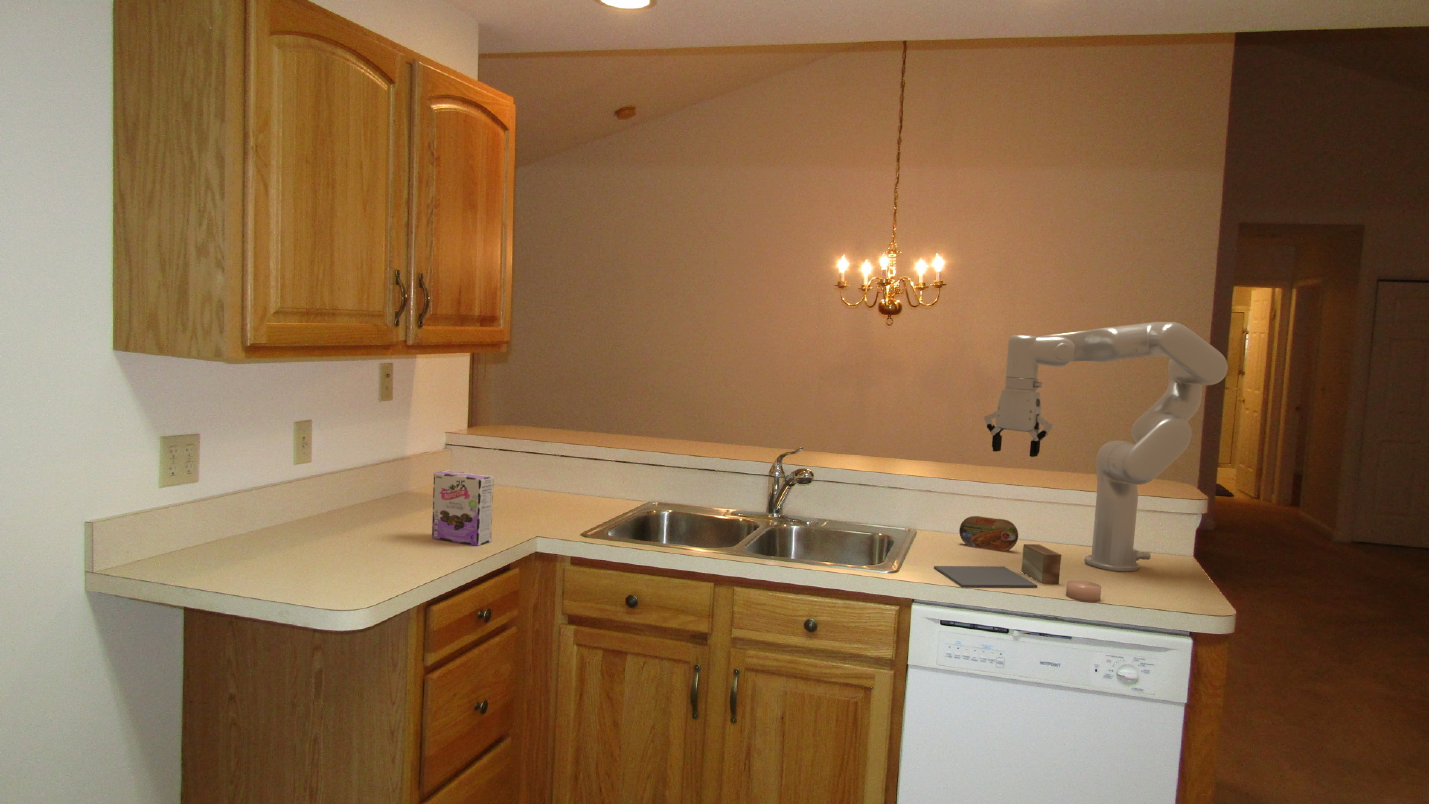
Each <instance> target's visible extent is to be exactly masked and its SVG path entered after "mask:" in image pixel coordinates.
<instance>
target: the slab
mask: <svg viewBox="0 0 1429 804" xmlns="http://www.w3.org/2000/svg"><path fill="white" fill-rule="evenodd" d="M1022 548H1023V549H1022V562H1021V572H1023V573H1024V575H1025V574H1027V575H1028V576H1027V575H1026V576H1027V577H1028V578H1030V577H1032V578H1033V579H1032V578H1031V579H1032V580H1034V581H1036V580H1037V581H1036V582H1037V583H1039V584H1041V583H1042V584H1041V585H1059V584H1060V576H1061V574H1060V573H1061V562H1062V554H1060V553H1058V552H1056V551H1054V550H1052V549H1050V548H1048V547H1046V546H1044V545H1041V544H1039V543H1038V544H1036V543H1035V544H1032V543H1029V544H1028V543H1024V544H1023V547H1022ZM1023 573H1022V574H1023Z"/></svg>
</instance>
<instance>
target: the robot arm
mask: <svg viewBox="0 0 1429 804" xmlns="http://www.w3.org/2000/svg"><path fill="white" fill-rule="evenodd" d="M1006 355H1007V356H1006V365H1005V366H1006V368H1005V378H1004V389H1003V388H1002V389H1001V391H1000V395H999V399H998V402H997V403H998V404H997V409H996V411H994V412H992V413H991V414H990V413H989V414H988V415H985V416H984V418H983V419H984V420H983V421H984V422H985V424H986V428H987V429H988V431H989V433H990V435H991V436H992V441H991V448H992V452H1001V451H1002V442H1003V440H1002V439H1003V435H1001V433H1003V431H1004V430H1008V431H1014V432H1016V431H1017V432H1024V433H1029V435H1030V437H1031V438H1032V439H1031V440H1030V447H1029V457H1031V458H1035V457H1038V455H1039V453H1040V450H1041V448H1040V447H1041V441H1043V439H1044V438H1045V437H1046V436H1048V435H1049V432H1050V431H1051V429H1052V428H1053V426H1054V425H1053V423H1051V422H1050V421H1048V419H1045V418H1044V417H1042V401H1041V400H1042V399H1041V393H1040V391H1037V390H1038V389H1039V388H1042V387H1043V382H1041V381H1039V379H1038V377H1039V376H1038V375H1039V366H1047V367H1054V368H1059V367H1065V366H1068V365H1069V364H1071V363H1072V362H1096V363H1097V362H1099V363H1106V362H1107V363H1108V362H1110V363H1111V362H1118V361H1119V362H1120V361H1126V360H1136V359H1143V358H1144V359H1145V358H1150V357H1151V358H1152V357H1165V358H1167V357H1168V358H1170V359H1169V361H1168V364H1167V365H1168V366H1167V372H1168V386H1167V388H1166V391H1165V392H1164V393H1163V395H1161V397H1160V398H1159V399H1157V400H1156V402H1155V403H1154V404H1152V405H1151V406H1150V407H1149V408H1148V409H1147V410H1145V412H1144V413H1143V414H1141V415H1140V416H1139V417H1138V418H1137V419H1136V420H1135V421H1134V423H1132V426H1131V431H1130V434H1131V438H1132V440H1133V441H1134V442H1135V443H1132V442H1129V441H1125V440H1118V439H1117V440H1110V441H1108V442H1106V443H1104V444H1103V445H1102V446H1101V447H1100V448H1099V450H1098V452H1097V454H1096V459H1095V468H1096V471H1095V472H1096V481H1097V483H1096V497H1095V498H1096V500H1095V501H1096V502H1095V510H1094V521H1093V522H1094V523H1093V533H1092V546H1091V554H1089V555H1086V556H1084V559H1083V560H1084V563H1085V564H1087V565H1089V566H1091V567H1094V568H1099V569H1102V570H1107V571H1108V570H1109V571H1113V572H1116V571H1117V572H1134V571H1137V570H1138V569H1139V563H1137V561H1139V560H1150V559H1151V552H1150V551H1141V552H1140V551H1139V550H1137V549H1135V548H1134V545H1135V535H1136V533H1135V532H1136V522H1137V513H1138V512H1137V511H1138V510H1137V509H1138V502H1139V500H1138V499H1139V491H1138V486H1143V485H1146V484H1148V483H1150V482H1152V481H1154V480H1155V479H1156V478H1157V477H1158V476H1160V475H1161V474H1162V473H1163V472H1164V471H1165V470H1166V469H1168V467H1170V466H1171V464H1173V463H1174V462H1175V461H1176V460H1177V459H1178V458H1179V457H1180V456H1181V455H1182V454H1184V452H1185V451H1186V450H1187V448H1188V447H1189V445H1190V443H1191V440H1192V434H1193V433H1192V432H1193V431H1192V427H1191V426H1190V424H1189V421H1190V420H1191V418H1192V417H1194V416H1195V414H1196V413H1197V412H1198V410H1199V409H1200V406H1201V402H1202V398H1203V397H1202V395H1203V394H1202V393H1203V386H1213V385H1216V384H1219V383H1220V382H1221V381H1222V380H1224V378H1226V376H1227V373H1228V370H1229V365H1228V361H1227V359H1226V357H1225V356H1224V354H1222V352H1220V351H1219V350H1218V349H1217V348H1216V347H1214V346H1213V345H1211V344H1210V343H1209V342H1207V341H1206V340H1204V338H1202V337H1201V336H1199V335H1198V334H1197V333H1195V331H1193V330H1192V329H1190V328H1188V327H1187V326H1185V325H1184V324H1181V323H1179V322H1175V321H1151V322H1143V323H1135V324H1127V325H1119V326H1117V325H1116V326H1108V327H1101V328H1093V329H1088V330H1082V331H1081V330H1079V331H1073V332H1064V333H1062V332H1061V333H1055V334H1046V335H1044V334H1043V335H1041V336H1036V335H1028V334H1014V335H1011V336H1010V337H1009V338H1008V343H1007V354H1006ZM994 419H995V425H994V424H993V420H994ZM1042 426H1043V429H1042V430H1041V427H1042ZM1040 430H1041V431H1040Z"/></svg>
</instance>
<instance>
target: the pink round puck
mask: <svg viewBox="0 0 1429 804" xmlns="http://www.w3.org/2000/svg"><path fill="white" fill-rule="evenodd" d="M1101 595H1102V586H1101V585H1100V584H1099V583H1095V582H1092V581H1087V580H1079V579H1071V580H1068V581H1067V582H1066V590H1065V596H1066V597H1067V598H1069V599H1072V600H1075V601H1079V602H1085V603H1097V602H1099V601H1100V600H1101Z"/></svg>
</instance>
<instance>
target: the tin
mask: <svg viewBox="0 0 1429 804" xmlns="http://www.w3.org/2000/svg"><path fill="white" fill-rule="evenodd" d="M958 532H959V537H960V539H961V541H962V542H963V543H964V544H965V545H967V546H968V547H971V548H975V549H982V548H983V549H984V550H991V551H997V552H1006V551H1010V550H1011V549H1013V548H1014V547H1015V546H1016V545H1017V542H1018V540H1019V531H1018V528H1017V526H1016V525H1015V524H1014V523H1013V522H1012V521H1010V520H1008V519H1005V518H1003V519H1002V518H995V517H987V516H986V517H985V516H980V515H979V516H978V515H973V516H972V515H971V516H968V517H966V518H965V519H964V520H963V521H962V522H961V524H960V525H959V530H958Z"/></svg>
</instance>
